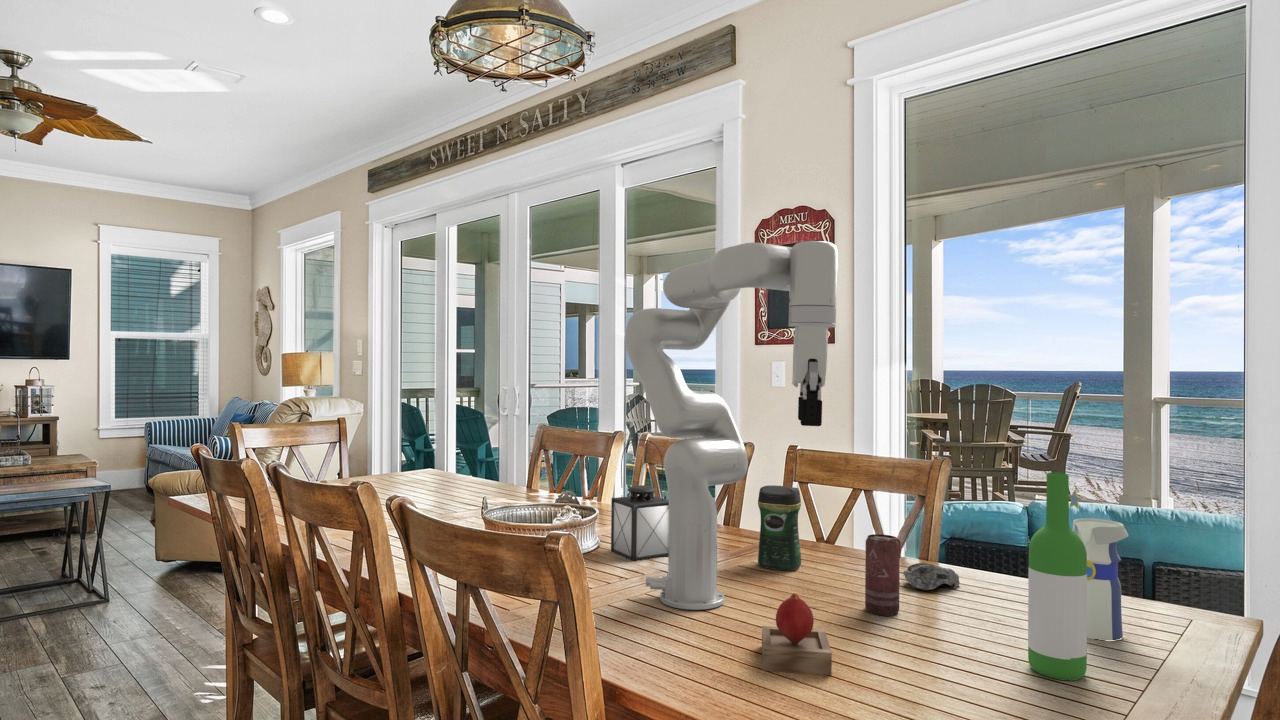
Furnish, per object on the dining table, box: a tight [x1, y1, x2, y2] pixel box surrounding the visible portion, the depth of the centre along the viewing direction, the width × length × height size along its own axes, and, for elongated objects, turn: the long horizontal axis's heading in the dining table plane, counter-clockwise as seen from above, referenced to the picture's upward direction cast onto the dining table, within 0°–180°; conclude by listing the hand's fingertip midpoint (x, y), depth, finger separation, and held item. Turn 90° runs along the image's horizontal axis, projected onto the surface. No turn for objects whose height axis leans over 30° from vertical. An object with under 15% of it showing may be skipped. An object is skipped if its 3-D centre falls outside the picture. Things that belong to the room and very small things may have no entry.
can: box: [864, 533, 902, 617], centre depth 140 cm, size 6×6×14 cm
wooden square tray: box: [761, 625, 833, 676], centre depth 116 cm, size 10×10×3 cm
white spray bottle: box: [1069, 489, 1129, 641], centre depth 129 cm, size 8×9×25 cm
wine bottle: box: [1027, 471, 1088, 681], centre depth 112 cm, size 8×8×30 cm
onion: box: [775, 592, 815, 644], centre depth 116 cm, size 6×6×8 cm
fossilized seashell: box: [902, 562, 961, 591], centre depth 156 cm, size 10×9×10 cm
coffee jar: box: [757, 485, 802, 571], centre depth 171 cm, size 10×8×19 cm
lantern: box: [610, 439, 669, 562], centre depth 182 cm, size 11×11×28 cm
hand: (809, 423), depth 121 cm, fingers open, 9 cm apart
